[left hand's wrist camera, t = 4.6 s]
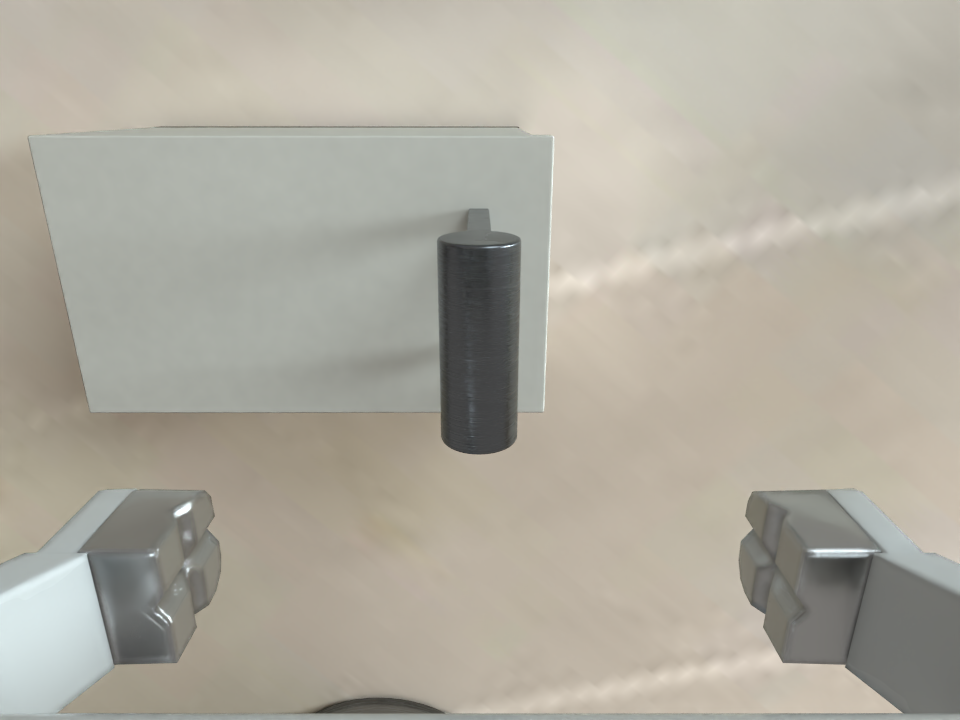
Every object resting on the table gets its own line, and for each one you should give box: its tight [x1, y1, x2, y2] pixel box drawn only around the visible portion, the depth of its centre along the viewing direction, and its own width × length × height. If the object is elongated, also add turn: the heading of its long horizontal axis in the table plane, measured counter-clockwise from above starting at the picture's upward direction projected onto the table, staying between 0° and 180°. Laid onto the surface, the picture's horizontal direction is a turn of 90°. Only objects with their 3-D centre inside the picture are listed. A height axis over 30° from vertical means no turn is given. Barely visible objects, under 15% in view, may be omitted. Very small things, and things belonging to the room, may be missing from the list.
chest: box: [47, 127, 531, 135], centre depth 29 cm, size 17×10×9 cm, turn 90°
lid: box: [28, 135, 554, 454], centre depth 21 cm, size 18×10×8 cm, turn 90°
